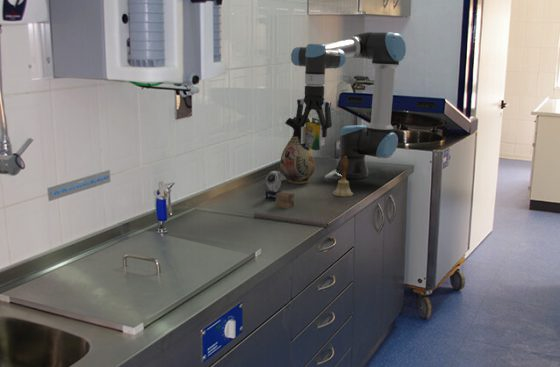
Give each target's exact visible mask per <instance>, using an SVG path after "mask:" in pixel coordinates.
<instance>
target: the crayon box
mask: <svg viewBox="0 0 560 367" xmlns="http://www.w3.org/2000/svg"><path fill="white" fill-rule="evenodd" d="M305 126H306V139H305V147H307V148H310V149H311V150H312V151H320V150H321V146H319V142H320V129H321V124H320V120H319V118H315V117H311V121H310V122H307V123H306V125H305Z"/></svg>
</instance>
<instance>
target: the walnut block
mask: <svg viewBox="0 0 560 367" xmlns="http://www.w3.org/2000/svg"><path fill="white" fill-rule="evenodd" d="M294 203H295V193H294V192H289V191H284V190H282V192H280V193H277V194H276V200H275V207H276V208H282V209H286V210H287V209H290V208H292V207H294V205H295V204H294Z"/></svg>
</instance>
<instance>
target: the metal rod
mask: <svg viewBox="0 0 560 367" xmlns="http://www.w3.org/2000/svg"><path fill="white" fill-rule="evenodd" d="M254 218H258V219H265V220H273V221H281V222H287V223H295V224H302V225H308V226H315V227H321V226H322V228H328V227H329V224H330V222H329V221H321V220H314V219H307V218H299V217H293V216H292V217H291V216H286V215H279V214H270V213H264V212H255V213H254Z"/></svg>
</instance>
